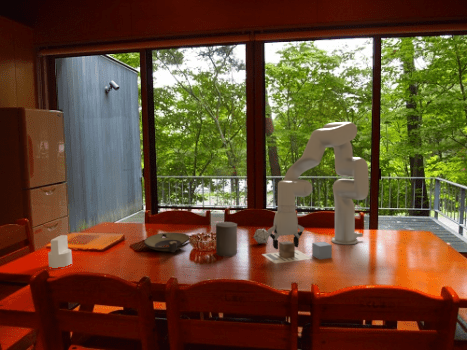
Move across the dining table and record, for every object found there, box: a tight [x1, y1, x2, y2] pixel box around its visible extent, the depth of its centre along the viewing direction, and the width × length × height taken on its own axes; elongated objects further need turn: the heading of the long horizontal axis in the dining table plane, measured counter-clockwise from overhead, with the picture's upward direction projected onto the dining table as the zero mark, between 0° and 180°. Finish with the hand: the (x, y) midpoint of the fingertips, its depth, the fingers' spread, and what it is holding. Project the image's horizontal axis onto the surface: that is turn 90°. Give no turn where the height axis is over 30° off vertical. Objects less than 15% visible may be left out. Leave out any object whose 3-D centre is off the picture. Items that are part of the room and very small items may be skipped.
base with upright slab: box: [47, 234, 73, 268], centre depth 162 cm, size 9×9×12 cm
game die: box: [251, 227, 270, 246], centre depth 190 cm, size 9×8×10 cm
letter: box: [261, 249, 313, 265], centre depth 169 cm, size 18×14×1 cm
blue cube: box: [311, 241, 333, 260], centre depth 167 cm, size 6×6×6 cm
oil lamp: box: [143, 232, 191, 253], centre depth 182 cm, size 22×30×8 cm
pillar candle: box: [215, 221, 238, 257], centre depth 175 cm, size 10×10×15 cm
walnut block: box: [278, 240, 296, 259], centre depth 168 cm, size 5×5×6 cm
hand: (285, 247), depth 168 cm, fingers open, 9 cm apart
